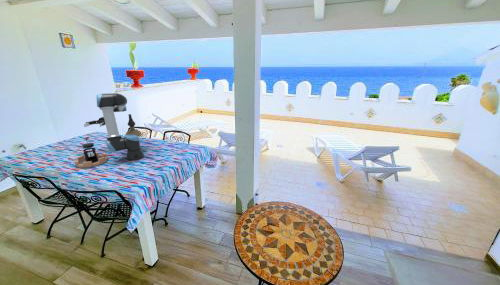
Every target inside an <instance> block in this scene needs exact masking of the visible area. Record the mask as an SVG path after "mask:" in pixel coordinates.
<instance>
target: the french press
mask: <svg viewBox="0 0 500 285" xmlns="http://www.w3.org/2000/svg"><path fill="white" fill-rule="evenodd" d="M89 139H90V137H84V138H83V140H85V141H86V143H83V144H82V145H81V147H82V148H83V150H82V151H83V155H84V157H85V160H86V162H88V161H92V163H94V162H97V161H98V157H97V155H96V148H95V143H94V142H88V140H89Z"/></svg>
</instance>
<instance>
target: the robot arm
mask: <svg viewBox="0 0 500 285" xmlns="http://www.w3.org/2000/svg"><path fill="white" fill-rule="evenodd" d="M95 98H96V107H97V108H99V110H100V111H102V112H101V113H102V116H101V117H99V118H98V119H97V120H95V119H94V120H90V121H87V122H85V123H84V124H83V126H84V128H86V127H89V126H91V125H99V128H101V127H103V126H105V129H106V132H107V137H106V140H105V144H106V146H107V148H108V151H109V152H111V153H114V152H119V151H125V150H126V152H127V153H126V160H128V161H137V160H141V159H143V158H144V155H145V154H144V153H143V150H142V151H141V148H142V147H141V145H140V139H139V137H138V136H137V135H125V134H124V136H123V137H122V135H121V134H120V133H119V128H118V125H117V121H116V116H115V113H119V112H120V113H121V112H126V111H127V104H128V99H127V97H126V96H124V95H123V94H121V93H117V92H113V93H97V94H96V97H95ZM140 147H141V148H140Z"/></svg>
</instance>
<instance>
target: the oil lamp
mask: <svg viewBox="0 0 500 285" xmlns="http://www.w3.org/2000/svg"><path fill="white" fill-rule="evenodd" d="M127 126H128V127H129V128H130V129H129V128H128V130H127V131H126V133H125V134H124V136H125V135H137V136H138V138H139V137H140V136H141V135H142V132H141V131H140V130H139V129H135V128H136V127H135V126H136V122H135V121H134V119H133V118H132V114H128V122H127ZM140 148H141V151H142V152H143V148H142V147H141V146H140Z"/></svg>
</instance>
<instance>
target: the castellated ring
mask: <svg viewBox="0 0 500 285" xmlns="http://www.w3.org/2000/svg"><path fill="white" fill-rule="evenodd" d="M95 152H96V151H95ZM96 155H97V157H98V161H97V162H94V163H92V161H88V162H86V160H85V156H84V154H82V155H80V156H76V159H75V160H74V165H75V167H76V168H78V169H89V168H94V167H98V166H101V165H103V164H106V163H107V161H108V155H107V153H105V152H102V154H99V152H98V151H97V152H96Z"/></svg>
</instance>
